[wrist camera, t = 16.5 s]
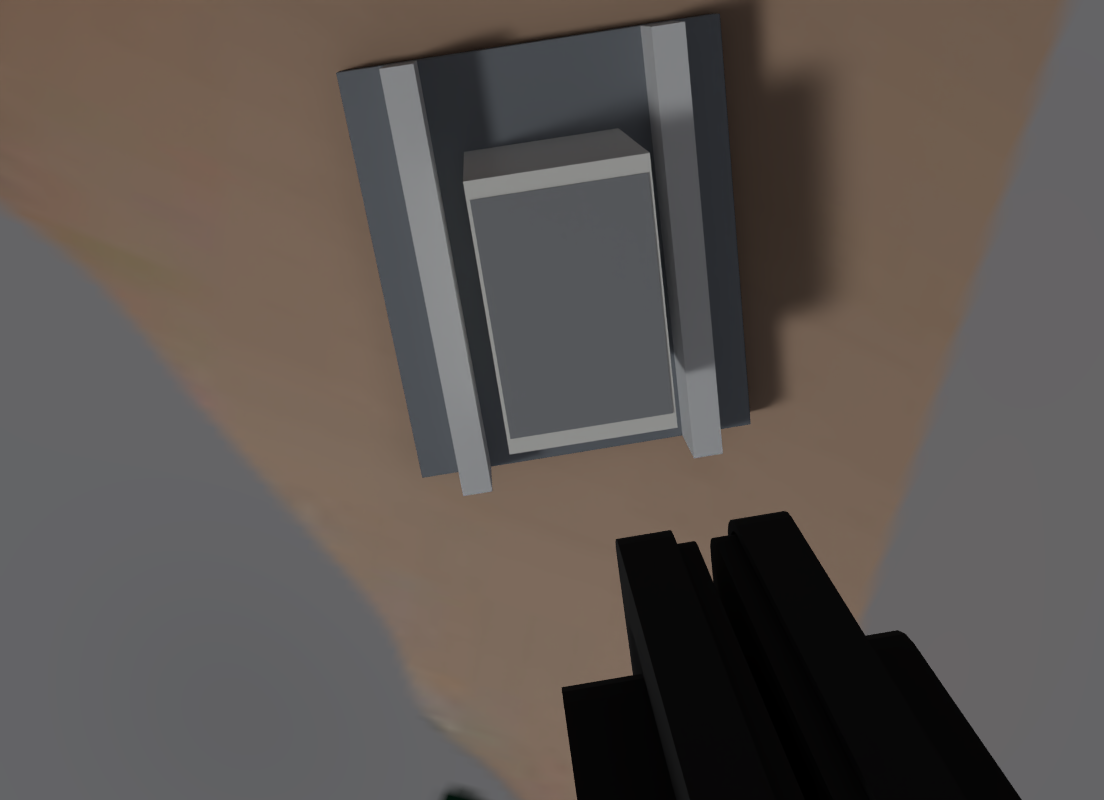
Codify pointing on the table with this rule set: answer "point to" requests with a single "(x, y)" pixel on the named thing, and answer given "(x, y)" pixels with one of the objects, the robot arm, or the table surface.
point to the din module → (572, 288)
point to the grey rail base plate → (446, 239)
